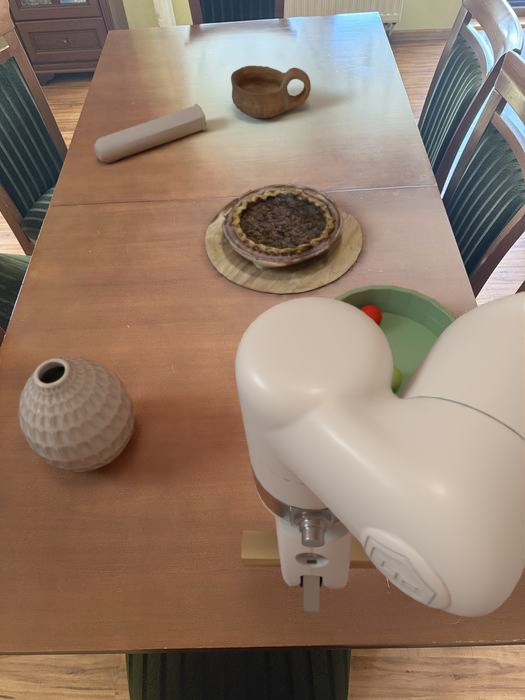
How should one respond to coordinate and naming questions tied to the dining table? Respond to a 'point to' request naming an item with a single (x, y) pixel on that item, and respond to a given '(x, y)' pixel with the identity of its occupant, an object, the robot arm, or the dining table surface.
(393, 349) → the mixing bowl
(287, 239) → the pie
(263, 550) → the stick
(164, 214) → the dining table surface
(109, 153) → the tube
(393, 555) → the robot arm
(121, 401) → the vase
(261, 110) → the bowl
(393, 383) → the grape
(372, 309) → the tomato
